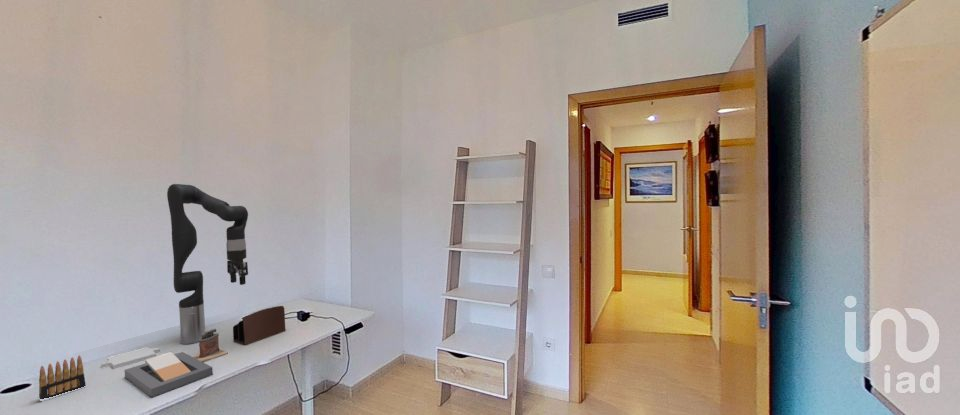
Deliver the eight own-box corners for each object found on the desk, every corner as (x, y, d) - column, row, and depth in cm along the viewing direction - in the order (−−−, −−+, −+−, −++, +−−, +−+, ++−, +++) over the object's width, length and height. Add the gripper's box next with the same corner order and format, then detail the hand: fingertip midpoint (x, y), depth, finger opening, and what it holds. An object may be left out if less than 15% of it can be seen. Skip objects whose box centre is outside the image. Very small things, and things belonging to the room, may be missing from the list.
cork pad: (190, 357, 154) (190, 356, 154) (217, 349, 162) (217, 347, 162) (200, 363, 149) (200, 361, 149) (227, 353, 157) (227, 352, 157)
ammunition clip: (83, 385, 132) (81, 353, 132) (85, 387, 132) (83, 354, 131) (39, 401, 123) (36, 366, 123) (40, 402, 122) (38, 367, 122)
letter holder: (286, 331, 183) (284, 303, 182) (244, 346, 165) (243, 315, 165) (274, 328, 188) (273, 301, 187) (233, 342, 170) (231, 312, 170)
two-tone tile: (145, 362, 140) (145, 359, 140) (171, 354, 147) (171, 351, 146) (165, 384, 130) (165, 382, 129) (192, 374, 136) (192, 372, 136)
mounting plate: (155, 348, 166) (155, 344, 165) (163, 355, 158) (163, 351, 158) (98, 364, 151) (98, 359, 151) (104, 372, 143) (104, 367, 143)
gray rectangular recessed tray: (124, 377, 138) (124, 369, 138) (182, 358, 153) (182, 351, 153) (151, 397, 123) (151, 389, 123) (212, 374, 138) (212, 367, 138)
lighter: (203, 358, 152) (202, 334, 151) (197, 357, 153) (196, 334, 152) (221, 350, 160) (220, 327, 159) (215, 349, 160) (214, 327, 160)
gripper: (220, 249, 168) (221, 283, 168) (235, 251, 160) (236, 287, 161) (237, 246, 174) (239, 280, 175) (252, 248, 167) (254, 283, 167)
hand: (238, 283), depth 168 cm, fingers open, 8 cm apart
